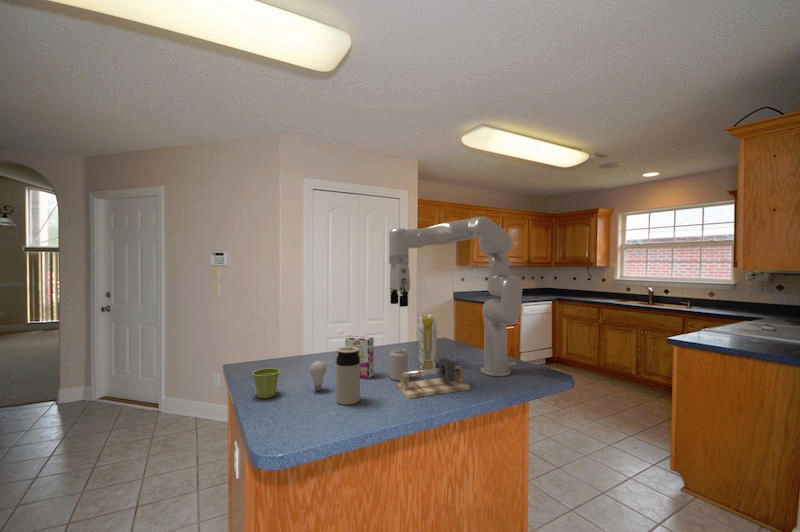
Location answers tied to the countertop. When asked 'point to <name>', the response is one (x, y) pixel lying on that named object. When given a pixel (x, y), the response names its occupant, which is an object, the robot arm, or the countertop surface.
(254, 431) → the countertop surface
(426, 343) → the juice carton
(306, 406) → the countertop surface
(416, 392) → the pipe stand
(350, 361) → the travel mug
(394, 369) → the can
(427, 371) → the pipe
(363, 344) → the candy bar box
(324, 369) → the lightbulb
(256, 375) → the plant pot
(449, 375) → the collar
